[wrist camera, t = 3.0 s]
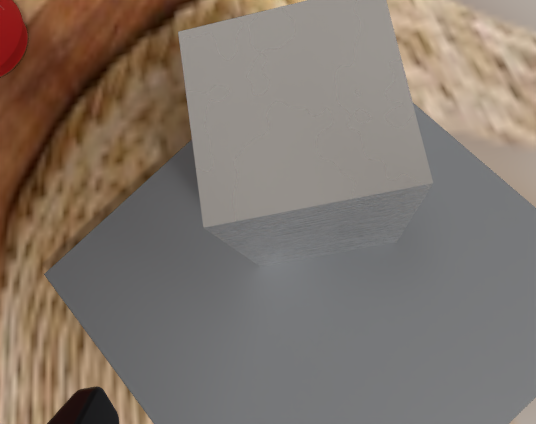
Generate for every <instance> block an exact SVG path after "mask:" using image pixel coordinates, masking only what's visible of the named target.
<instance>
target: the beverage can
mask: <svg viewBox="0 0 536 424" xmlns="http://www.w3.org/2000/svg"><path fill="white" fill-rule="evenodd" d="M27 46H28V30H27V27H26V25H25V23H24V22H23V20H22V17H21V13H20V11H19V9H18V7H17V5H16V4H15V3H14V2H13V1H12V0H0V78H1V77H3V76H5V75H7V74H8V73H9V72H11V71H12V70H13V69H14V68H15V67H16V66H17V65H18V64H19V63H20V61H21V60H22V58H23V57H24V55H25V52H26V50H27Z"/></svg>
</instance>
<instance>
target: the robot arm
mask: <svg viewBox="0 0 536 424" xmlns="http://www.w3.org/2000/svg"><path fill="white" fill-rule="evenodd" d="M47 424H119V418H118V414H117V412H116V410H115V408H114V407H113V405H112V403H111V402H110V400H109V398H108V397H107V395H106V393H105V392H104V390H103V389H102V388H100V387H91V388H85V389H80V390H78V391H77V392H76V393H75V394H73V396H72V397H71V398H70V399H69V400H68V401H67V402H66V403H65V404H64V406H63V407H62V408H61V409H60V410H59V411H58V412H57V413H56V414H55V416H54V417H53V418H52V419H51V420H50V421H49V422H48V423H47Z"/></svg>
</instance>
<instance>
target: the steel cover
mask: <svg viewBox="0 0 536 424" xmlns="http://www.w3.org/2000/svg"><path fill="white" fill-rule="evenodd" d="M178 35H179V43H180V51H181V58H182V66H183V74H184V81H185V89H186V97H187V105H188V112H189V120H190V128H191V135H192V143H193V151H194V158H195V166H196V174H197V182H198V189H199V197H200V205H201V212H202V220H203V228H205V229H206V230H208V231H209V232H211V233H212V234H213V235H215V236H216V237H218V238H219V239H221V240H222V241H224V242H225V243H227V244H228V245H230V246H231V247H233V248H234V249H235V250H237V251H238V252H240V253H241V254H243V255H244V256H246V257H247V258H249V259H250V260H252V261H253V262H254V263H256V264H257V265H259V266H260V267H262V266H267V265H273V264H278V263H284V262H289V261H295V260H300V259H306V258H311V257H317V256H322V255H328V254H333V253H339V252H344V251H350V250H355V249H361V248H366V247H372V246H377V245H383V244H388V243H394V242H397V240H398V239H399V237H400V236H401V234H402V232H403V231H404V229H405V228H406V226H407V224H408V223H409V221H410V220H411V218H412V216H413V215H414V213H415V212H416V210H417V208H418V207H419V205H420V204H421V202H422V200H423V199H424V197H425V196H426V194H427V192H428V191H429V189H430V187H431V186H432V184H433V180H432V176H431V172H430V168H429V165H428V161H427V157H426V153H425V149H424V145H423V141H422V137H421V134H420V130H419V126H418V122H417V118H416V114H415V110H414V106H413V103H412V99H411V95H410V91H409V87H408V83H407V79H406V75H405V71H404V68H403V64H402V60H401V56H400V52H399V48H398V44H397V40H396V37H395V33H394V29H393V25H392V21H391V17H390V13H389V9H388V5H387V2H386V0H307V1H303V2H299V3H295V4H291V5H287V6H282V7H278V8H274V9H270V10H266V11H262V12H258V13H254V14H249V15H245V16H241V17H237V18H233V19H229V20H225V21H221V22H216V23H212V24H208V25H204V26H200V27H196V28H192V29H188V30H183V31H179V32H178Z"/></svg>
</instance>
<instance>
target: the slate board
mask: <svg viewBox="0 0 536 424" xmlns="http://www.w3.org/2000/svg"><path fill="white" fill-rule="evenodd" d="M412 103H413V102H412ZM413 106H414V110H415V114H416V118H417V122H418V126H419V130H420V134H421V137H422V141H423V145H424V149H425V153H426V157H427V161H428V165H429V168H430V172H431V176H432V180H433V184H432V186H431V187H430V189H429V191H428V192H427V194H426V196H425V197H424V199H423V200H422V202H421V204H420V205H419V207H418V208H417V210H416V212H415V213H414V215H413V216H412V218H411V220H410V221H409V223H408V224H407V226H406V228H405V229H404V231H403V232H402V234H401V236H400V237H399V239H398V240H397V242H394V243H388V244H383V245H377V246H372V247H366V248H361V249H355V250H350V251H344V252H339V253H333V254H328V255H322V256H317V257H311V258H306V259H300V260H295V261H289V262H284V263H278V264H273V265H267V266H262V267H260V266H259V265H257V264H256V263H254V262H253V261H252V260H250V259H249V258H247V257H246V256H244V255H243V254H241V253H240V252H238V251H237V250H235V249H234V248H233V247H231V246H230V245H228V244H227V243H225V242H224V241H222V240H221V239H219V238H218V237H216V236H215V235H213V234H212V233H211V232H209V231H208V230H206V229H205V228H203V220H202V212H201V205H200V197H199V189H198V182H197V174H196V166H195V158H194V151H193V143H192V140H191V141H190V142H189V143H187V144H186V145H185V146H184V147H183V148H182V149H181V150H180V151H179V152H178V153H176V154H175V155H174V156H173V157H172V158H171V159H170V160H169V161H168V162H167V163H165V164H164V165H163V166H162V167H161V168H160V169H159V170H158V171H157V172H156V173H155V174H153V175H152V176H151V177H150V178H149V179H148V180H147V181H146V182H145V183H144V184H142V185H141V186H140V187H139V188H138V189H137V190H136V191H135V192H134V193H133V194H132V195H130V196H129V197H128V198H127V199H126V200H125V201H124V202H123V203H122V204H121V205H119V206H118V207H117V208H116V209H115V210H114V211H113V212H112V213H111V214H110V215H109V216H107V217H106V218H105V219H104V220H103V221H102V222H101V223H100V224H99V225H98V226H96V227H95V228H94V229H93V230H92V231H91V232H90V233H89V234H88V235H87V236H85V237H84V238H83V239H82V240H81V241H80V242H79V243H78V244H77V245H76V246H75V247H73V248H72V249H71V250H70V251H69V252H68V253H67V254H66V255H65V256H64V257H62V258H61V259H60V260H59V261H58V262H57V263H56V264H55V265H54V266H53V267H52V268H50V269H49V270H48V271H47V272H46V273H45V274H44V275H45V276H46V278H47V279H48V280H49V282H50V283H51V284H52V286H53V287H54V289H55V290H56V291H57V293H58V294H59V295H60V297H61V298H62V299H63V301H64V302H65V303H66V305H67V306H68V308H69V309H70V310H71V312H72V313H73V314H74V316H75V317H76V318H77V320H78V321H79V322H80V324H81V325H82V327H83V328H84V329H85V331H86V332H87V333H88V335H89V336H90V337H91V339H92V340H93V341H94V343H95V344H96V346H97V347H98V348H99V350H100V351H101V352H102V354H103V355H104V356H105V358H106V359H107V360H108V362H109V363H110V365H111V366H112V367H113V369H114V370H115V371H116V373H117V374H118V375H119V377H120V378H121V379H122V381H123V382H124V384H125V385H126V386H127V388H128V389H129V390H130V392H131V393H132V394H133V396H134V397H135V399H136V400H137V401H138V403H139V404H140V405H141V407H142V408H143V409H144V411H145V412H146V413H147V415H148V416H149V418H150V419H151V420H152V422H153V423H154V424H509V423H510V422H511V421H512V420H513V419H514V418H515V417H516V416H517V415H518V414H519V413H520V412H521V411H522V410H523V409H524V408H525V407H526V406H527V405H528V404H529V403H530V402H531V401H532V400H533V399H534V398H535V397H536V208H535V207H534V206H533V205H532V204H530V203H529V202H528V201H527V200H526V199H525V198H523V197H522V196H521V195H520V194H519V193H518V192H517V191H515V190H514V189H513V188H512V187H511V186H510V185H508V184H507V183H506V182H505V181H504V180H503V179H501V178H500V177H499V176H498V175H497V174H496V173H494V172H493V171H492V170H491V169H490V168H489V167H487V166H486V165H485V164H484V163H483V162H482V161H480V160H479V159H478V158H477V157H475V156H474V155H473V154H472V153H471V152H470V151H469V150H467V149H466V148H465V147H464V146H463V145H462V144H461V143H459V142H458V141H457V140H456V139H455V138H454V137H452V136H451V135H450V134H449V133H448V132H447V131H445V130H444V129H443V128H442V127H441V126H440V125H438V124H437V123H436V122H435V121H434V120H433V119H431V118H430V117H429V116H428V115H427V114H426V113H424V112H423V111H422V110H421V109H420V108H419V107H417V106H416V105H415V104H414V103H413Z"/></svg>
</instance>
